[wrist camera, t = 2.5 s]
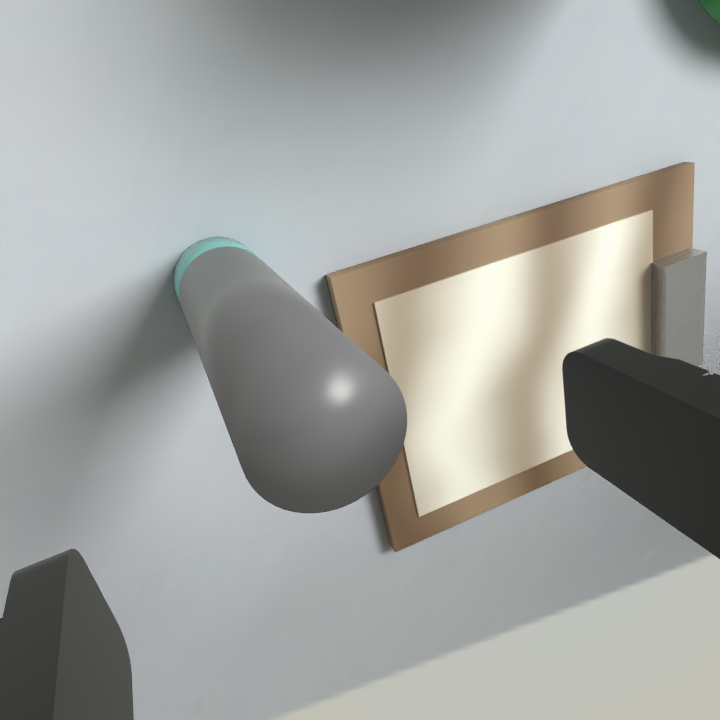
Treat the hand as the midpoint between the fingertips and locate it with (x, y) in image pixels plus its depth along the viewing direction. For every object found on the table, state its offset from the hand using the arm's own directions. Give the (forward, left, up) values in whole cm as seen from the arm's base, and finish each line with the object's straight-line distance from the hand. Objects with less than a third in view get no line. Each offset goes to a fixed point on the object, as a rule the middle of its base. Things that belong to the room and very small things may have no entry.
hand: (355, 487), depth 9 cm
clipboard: (-13, +8, -15) cm, 21 cm away
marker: (0, 0, -15) cm, 15 cm away
